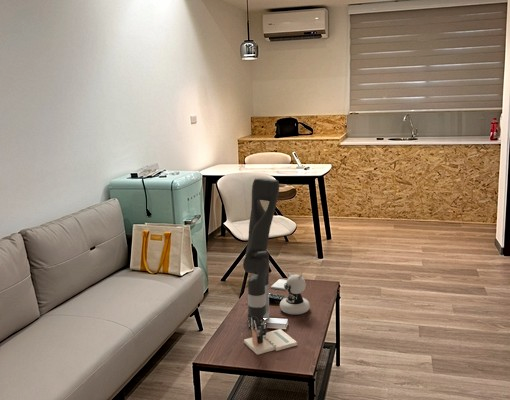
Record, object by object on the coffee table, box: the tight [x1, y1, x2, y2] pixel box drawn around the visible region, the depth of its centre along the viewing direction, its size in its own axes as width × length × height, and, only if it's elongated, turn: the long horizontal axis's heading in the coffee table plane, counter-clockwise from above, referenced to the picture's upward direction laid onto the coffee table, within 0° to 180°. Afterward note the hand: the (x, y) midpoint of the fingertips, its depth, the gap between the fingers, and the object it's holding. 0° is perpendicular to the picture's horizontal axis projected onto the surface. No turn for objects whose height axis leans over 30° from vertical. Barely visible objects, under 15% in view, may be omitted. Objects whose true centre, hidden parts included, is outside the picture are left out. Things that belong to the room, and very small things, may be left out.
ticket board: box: [263, 328, 298, 352], centre depth 229 cm, size 14×10×2 cm
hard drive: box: [270, 278, 287, 291], centre depth 292 cm, size 2×8×12 cm
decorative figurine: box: [279, 271, 311, 316], centre depth 258 cm, size 15×15×20 cm
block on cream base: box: [243, 329, 275, 355], centre depth 224 cm, size 12×8×7 cm, turn 27°
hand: (257, 340), depth 224 cm, fingers closed on block on cream base, 4 cm apart
